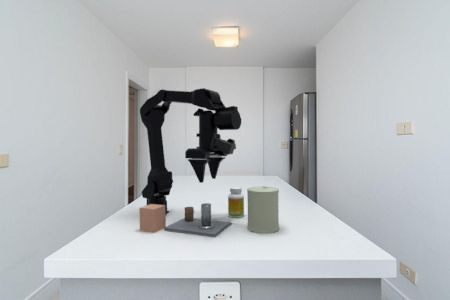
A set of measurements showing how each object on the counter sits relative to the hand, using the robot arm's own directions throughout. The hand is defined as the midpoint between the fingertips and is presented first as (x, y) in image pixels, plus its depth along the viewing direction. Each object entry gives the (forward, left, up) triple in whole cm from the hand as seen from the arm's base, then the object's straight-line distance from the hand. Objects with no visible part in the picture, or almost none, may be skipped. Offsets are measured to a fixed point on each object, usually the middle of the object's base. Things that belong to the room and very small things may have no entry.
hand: (207, 180), depth 82 cm
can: (+17, +1, -14) cm, 22 cm away
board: (-1, -5, -13) cm, 14 cm away
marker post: (+2, -6, -13) cm, 15 cm away
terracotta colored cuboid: (-13, -11, -13) cm, 21 cm away
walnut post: (-6, -2, -13) cm, 15 cm away
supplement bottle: (+5, +11, -14) cm, 18 cm away
